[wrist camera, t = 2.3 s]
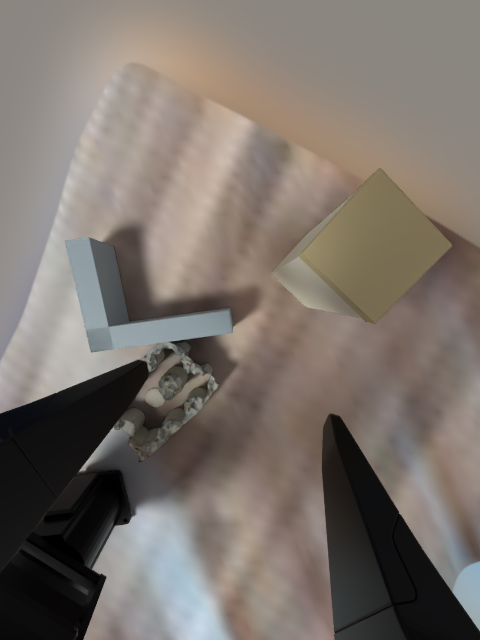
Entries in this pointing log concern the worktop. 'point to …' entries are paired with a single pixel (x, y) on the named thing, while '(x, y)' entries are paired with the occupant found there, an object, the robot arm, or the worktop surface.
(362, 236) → the tea tin
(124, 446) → the worktop surface
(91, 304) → the corner fence
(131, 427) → the egg carton
